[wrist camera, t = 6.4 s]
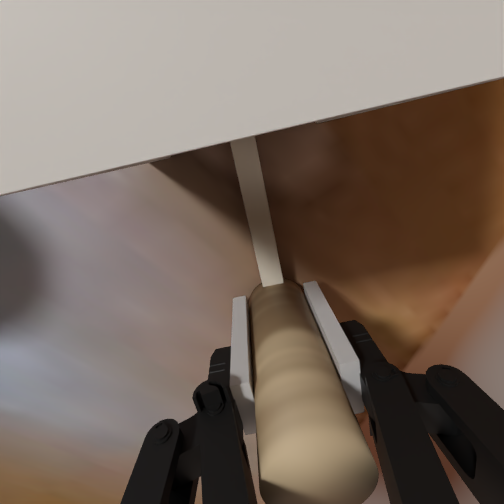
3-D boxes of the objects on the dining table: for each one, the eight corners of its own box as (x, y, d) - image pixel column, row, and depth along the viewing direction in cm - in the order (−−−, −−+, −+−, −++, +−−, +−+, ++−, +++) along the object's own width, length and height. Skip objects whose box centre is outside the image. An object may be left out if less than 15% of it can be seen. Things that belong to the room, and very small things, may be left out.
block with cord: (132, -26, 12) (-273, -658, 2) (275, -63, 12) (428, -915, 2) (236, 336, 18) (233, 535, 9) (328, 317, 18) (421, 501, 9)
